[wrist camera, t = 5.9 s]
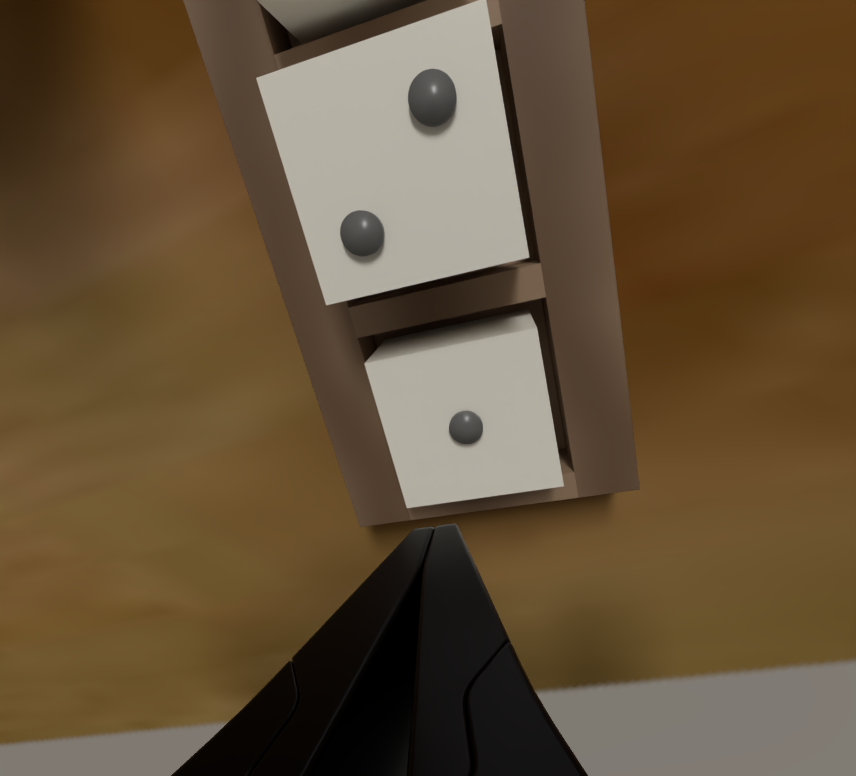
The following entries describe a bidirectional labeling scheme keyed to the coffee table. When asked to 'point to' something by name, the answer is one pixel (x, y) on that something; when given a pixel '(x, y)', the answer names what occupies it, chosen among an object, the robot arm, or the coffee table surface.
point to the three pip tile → (329, 14)
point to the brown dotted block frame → (463, 293)
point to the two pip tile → (400, 156)
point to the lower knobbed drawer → (467, 410)
